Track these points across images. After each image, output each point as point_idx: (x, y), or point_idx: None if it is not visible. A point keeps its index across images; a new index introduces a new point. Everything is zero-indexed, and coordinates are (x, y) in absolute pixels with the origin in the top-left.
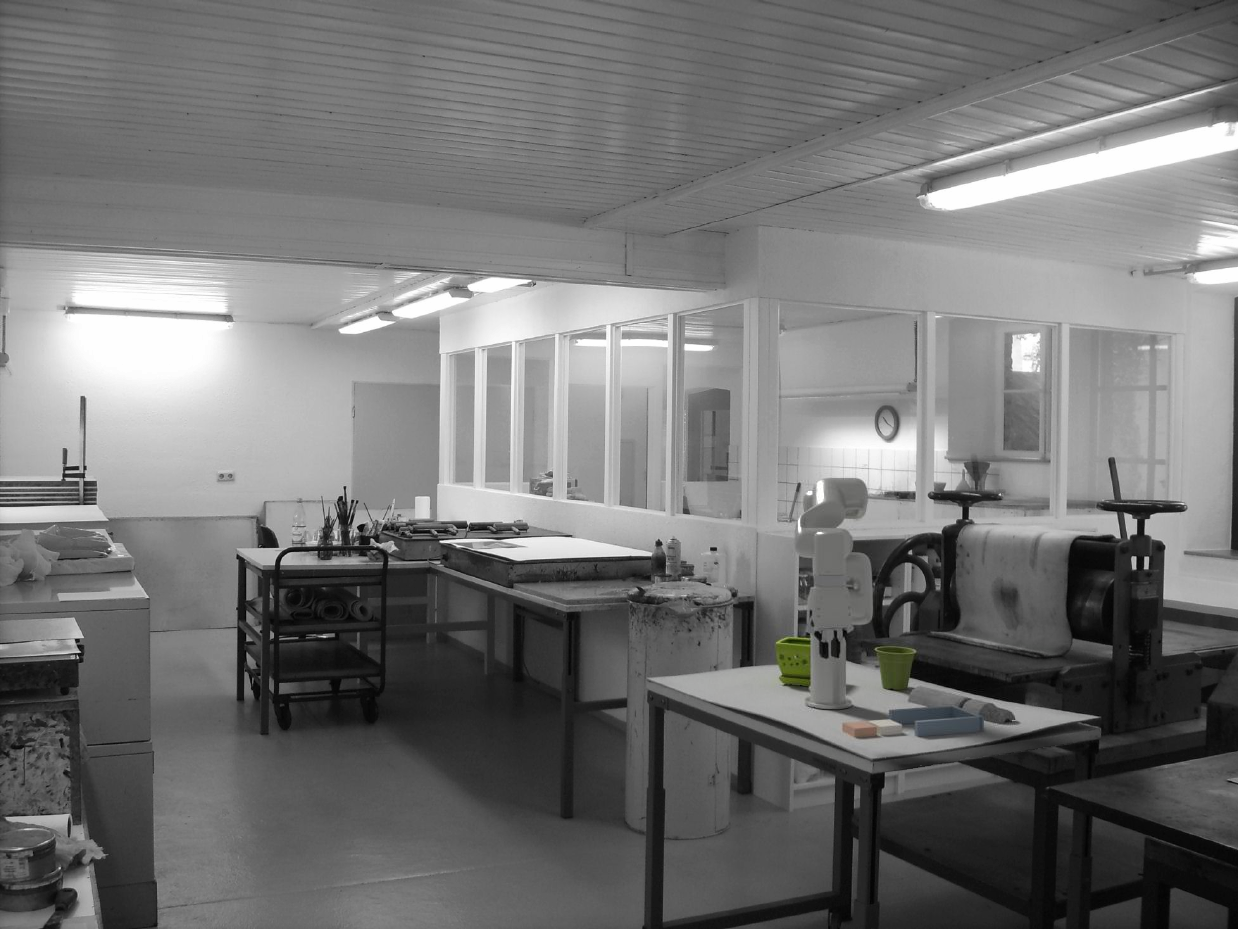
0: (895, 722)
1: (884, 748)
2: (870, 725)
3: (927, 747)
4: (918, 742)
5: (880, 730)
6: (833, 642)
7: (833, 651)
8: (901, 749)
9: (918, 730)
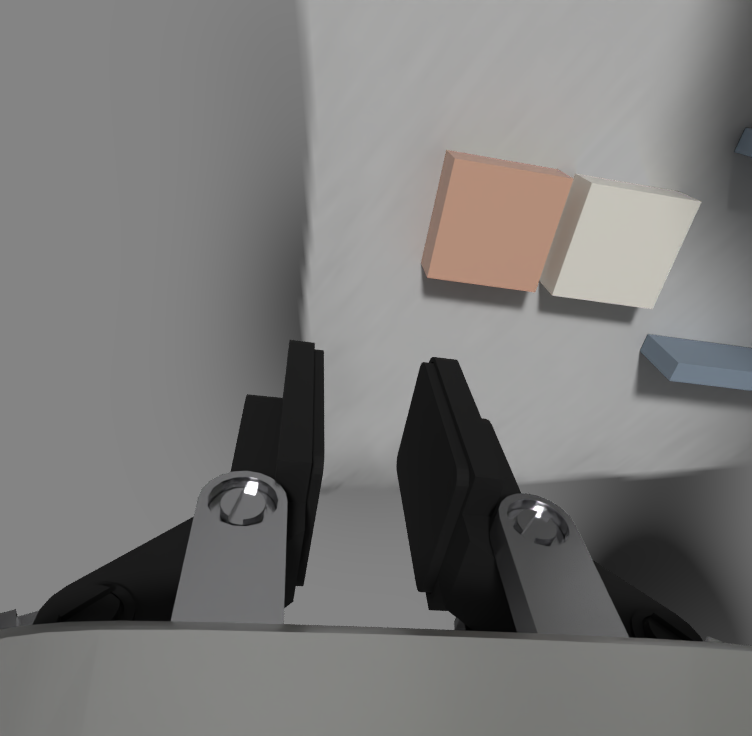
0: (668, 264)
1: None
2: (532, 261)
3: (548, 458)
4: (576, 406)
5: (547, 288)
6: (437, 524)
7: (418, 444)
8: None
9: (655, 363)
